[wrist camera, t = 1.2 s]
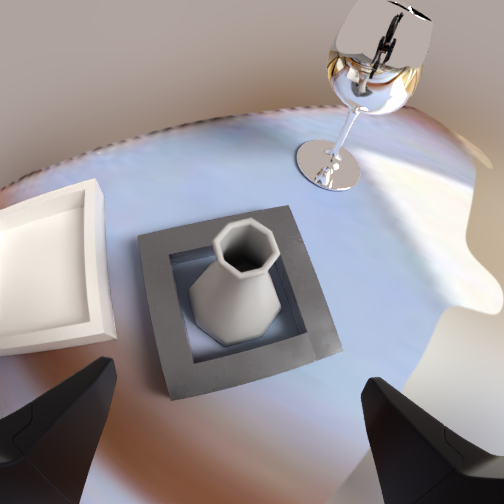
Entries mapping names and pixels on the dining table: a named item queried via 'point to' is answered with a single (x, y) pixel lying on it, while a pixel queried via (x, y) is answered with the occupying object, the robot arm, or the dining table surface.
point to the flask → (237, 284)
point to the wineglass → (368, 79)
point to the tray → (55, 272)
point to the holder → (251, 361)
